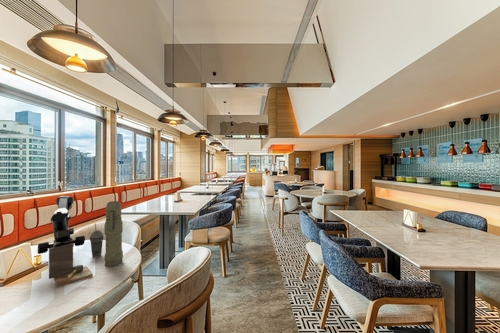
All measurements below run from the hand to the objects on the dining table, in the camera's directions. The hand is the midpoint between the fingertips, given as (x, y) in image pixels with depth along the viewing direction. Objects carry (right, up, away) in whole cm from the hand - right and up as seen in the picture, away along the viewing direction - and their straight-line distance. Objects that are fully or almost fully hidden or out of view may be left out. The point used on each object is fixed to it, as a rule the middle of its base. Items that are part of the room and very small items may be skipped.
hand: (64, 258), depth 114 cm
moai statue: (+16, -9, +15) cm, 24 cm away
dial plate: (+6, -9, -1) cm, 10 cm away
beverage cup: (-1, -9, +26) cm, 28 cm away
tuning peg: (+4, -7, -3) cm, 9 cm away
